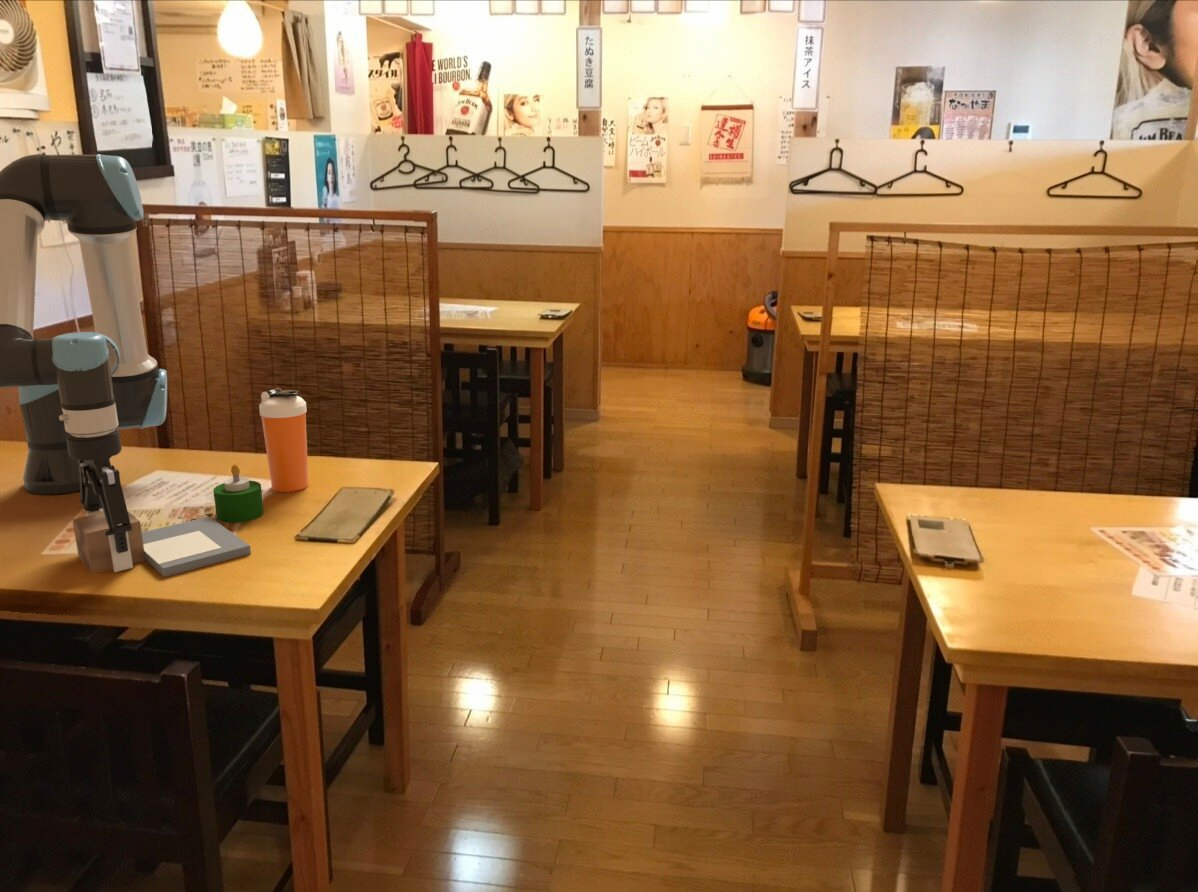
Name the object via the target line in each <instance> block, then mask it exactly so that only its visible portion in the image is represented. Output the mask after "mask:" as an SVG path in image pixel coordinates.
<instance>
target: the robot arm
mask: <svg viewBox="0 0 1198 892" xmlns="http://www.w3.org/2000/svg"><path fill="white" fill-rule="evenodd" d="M144 213H145V212H144V207H143V203H142V197H141V192H140V188H139V185H138V183H137V178H136V176H135V173H134V170H133V168H132V167H131V164H130V163H129V162H128V160H126V158H124V157H122V156H119V155H110V154H109V155H105V154H100V153H98V154H97V153H96V154H93V153H92V154H44V153H43V154H42V153H40V154H39V153H37V154H29V155H25V156H23V157H19V158H16V159H15V160H12V161H11V162H10V163H8V164H7V165H6V166H5V167H3V168H2V169H1V170H0V389H5V388H17V387H18V397H19V400H18V405H19V406H20V411H21V415H22V422H23V426H24V427H23V428H24V431H25V436H26V437H25V438H26V442H27V443H26V444H27V450H28V452H27V457H26V458H27V459H26V463H25V467H24V473H23V476H22V477H23V478H22V479H23V485H24V489H26V490H27V492H29V493H30V494H31V493H32V494H37V495H60V494H68V493H69V494H70V493H74V492H75V493H76V492H79V495H80V496H79V497H80V504H81V505H82V506H83V509H84V511H85V512H86V513H85V515H86V516H85V517H87V516H92V515H96V514H101V513H104V514H105V517H106V521H107V524H108V527H109V531H106V533H105V535H106V536H108V537H109V544H110V550H111V557H112V563H113V569H112V570H113V571H114V573H118V572H120V571H125V570H129V569H132V568H134V566H133V565H134V563H132V557H131V550H130V544H129V537H128V531H131V530H132V526H131V523H130V519H129V515H128V512H129V511H128V508H127V504H126V500H125V496H124V493H123V488H122V483H121V477H120V471H119V469H115V465H113V464H112V463H111V460H110V459H111V458H112V457H115V456H117V455H118V454H120V453H121V452H122V449H123V448H122V441H121V435H120V433H121V432H120V431H119V430H129V429H144V428H150V427H156V426H157V427H158V426H161V425H162V424H164V422H165V420H166V418H167V417H166V416H167V407H168V405H167V404H168V372H167V370H166V369H162V368H158V361H157V360H156V359H155V357H153V356H151V355H149V353H148V348H147V343H146V342H147V341H146V335H145V328H144V323H143V322H144V321H143V316H142V311H141V310H142V309H141V302H140V298H139V297H140V296H139V290H138V289H139V288H138V284H137V277H136V270H135V264H134V259H133V257H134V256H133V250H132V245H131V244H132V243H131V237H132V235H133V234H134V233H135V232H136V231H137V229H138V226H137V222H138V221H140V220H143V219H144V216H145V215H144ZM47 221H55V222H58V221H65V222H66V224H67V231H68V233H70V234H71V235H72V236H74V237H75V238H77V240H78V242H79V247H80V252H81V257H82V264H83V269H84V275H85V279H86V286H87V291H88V297H89V303H90V309H91V313H92V315H91V316H92V321H93V326H94V331H79V332H69V333H68V332H67V333H64V334H60V335H57V336H55V337H53V338H34V325H35V324H34V323H35V322H34V321H35V302H36V300H35V299H36V275H37V258H38V257H37V254H38V253H37V252H38V235H40V234H41V233H42V232H43V231H44V228H45V223H46V222H47ZM26 490H25V491H26ZM119 524H122V525H119ZM117 525H118V526H117Z"/></svg>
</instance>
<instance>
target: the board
mask: <svg viewBox="0 0 1198 892" xmlns="http://www.w3.org/2000/svg"><path fill="white" fill-rule="evenodd" d="M141 532H142V539H143V546H144V552H145V559H146V560H145V561H147V563H148V564H149V565H151V566H152V567H153V568H154V569H155V570H156V571H157V572H158V573H159V574H161V575H162V577H164V578H166V577H169V576H175V575H177V574H180V573H185V572H188V571H192V570H196V569H200V568H204V567H207V566H210V565H215V564H217V563H221V562H222V563H223V562H225V561H229V560H232V559H237V558H240V557H244V556H248V555H250V554H252V553H251V545H250V544H248V543H247V542H246V541H244V540H243V539H242V538H240V537H238V536H237V535H236V534H234V532H232V531H230V530H229V529H227V528H226V527H225V526H223V525H222V524H220V522H219V521H216V520H215V519H214V518H212V517H211V516H206V517H200V518H198V519H197V518H196V519H193V520H188V521H184V522H180V523H175V524H172V525H168V526H163V527H159V528H154V529H150V530H147V531H146V530H145V531H141Z"/></svg>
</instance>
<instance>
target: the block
mask: <svg viewBox="0 0 1198 892" xmlns="http://www.w3.org/2000/svg"><path fill="white" fill-rule="evenodd" d="M128 515H129V519H130V523H131V526H132V530H131V531H128V537H129V544H130V550H131V557H132V564H135V563H136V564H137V563H140V562H144V561H146V559H145V552H144V546H143V539H142V532H143V531H142V526H141V520H139V519H138V518H137V517H135V516H134V514H132V513H131V512H129V511H128ZM72 524H73V531H74V537H75V538H74V539H75V544H76V550H77V555H78V559H79V561H81V562H82V563H83V564H84V566H85V567H87V569H88V570H89V571H90V572H91V574H96V573H101V572H104V571H109V570H111V569H112V570H113V563H112V557H111V550H110V544H109V537H108V536H106V535H105V533H106V531H109V527H108V524H107V521H106V517H105V514H104V513H101V514H96V515H92V516H84V517H79V518H74V519H72ZM119 525H122V524H119ZM117 526H118V525H117Z"/></svg>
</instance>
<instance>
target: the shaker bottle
mask: <svg viewBox="0 0 1198 892" xmlns="http://www.w3.org/2000/svg"><path fill="white" fill-rule="evenodd" d="M299 394H300V391H299V390H294V389H285V390H282V389H281V388H279V387H275V388H272V389H270V390H266V391H263V392H261V396H260V398H261V399H260V400H261V402H260V404H259V406H258V407H259V416H260V417H261V422H262V423H261V424H262V428H263V429H262V431H263V436H264V443H265V450H266V457H267V463H268V469H269V476H270V484H271V488H272V490H273V491H274V492H279V493H292V492H298V491H302V490H304V489H306V488H307V487H308V486H309V468H308V464H309V463H308V439H307V415H306V414H307V412H308V411H307V410H308V409H307V402H306V401H305V400H304V398H302V396H298V395H299Z"/></svg>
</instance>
